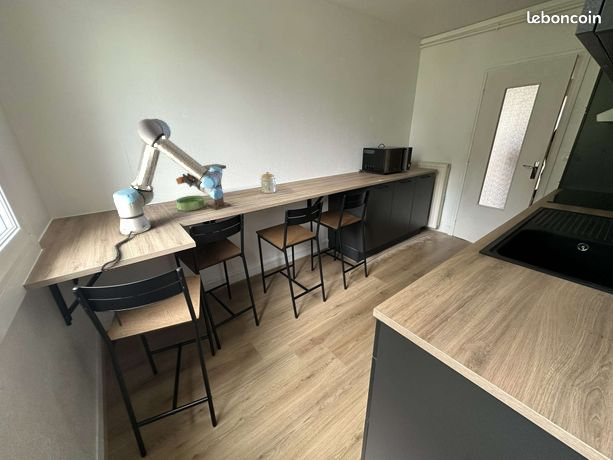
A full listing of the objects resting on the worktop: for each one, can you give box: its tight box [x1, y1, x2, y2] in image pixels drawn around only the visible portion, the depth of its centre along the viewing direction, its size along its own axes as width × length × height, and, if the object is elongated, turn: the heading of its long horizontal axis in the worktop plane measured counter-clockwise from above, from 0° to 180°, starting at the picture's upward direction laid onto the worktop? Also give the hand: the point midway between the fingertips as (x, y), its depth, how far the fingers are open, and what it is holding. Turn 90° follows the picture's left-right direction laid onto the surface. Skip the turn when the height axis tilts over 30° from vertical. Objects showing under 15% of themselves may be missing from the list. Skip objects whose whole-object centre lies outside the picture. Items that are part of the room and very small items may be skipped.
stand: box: [202, 163, 232, 211], centre depth 183 cm, size 12×12×30 cm
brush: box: [175, 174, 193, 185], centre depth 177 cm, size 17×6×4 cm, turn 51°
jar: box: [260, 171, 277, 194], centre depth 222 cm, size 13×13×18 cm
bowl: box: [175, 194, 206, 212], centre depth 186 cm, size 20×20×6 cm
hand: (185, 175), depth 176 cm, fingers closed on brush, 2 cm apart
